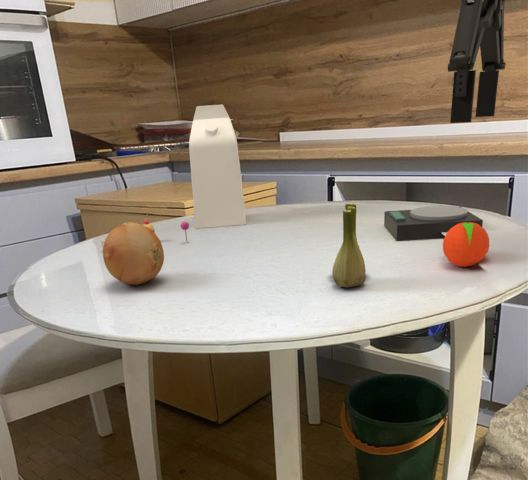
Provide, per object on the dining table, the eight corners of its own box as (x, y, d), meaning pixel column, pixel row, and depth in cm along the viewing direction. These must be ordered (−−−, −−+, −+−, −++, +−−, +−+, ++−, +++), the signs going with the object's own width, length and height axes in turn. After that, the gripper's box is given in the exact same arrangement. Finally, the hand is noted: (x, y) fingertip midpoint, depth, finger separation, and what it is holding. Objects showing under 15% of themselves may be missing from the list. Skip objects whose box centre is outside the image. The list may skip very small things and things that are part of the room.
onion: (152, 293, 83) (142, 229, 79) (97, 292, 86) (84, 230, 82) (178, 274, 92) (169, 216, 87) (126, 273, 94) (116, 216, 90)
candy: (104, 255, 108) (98, 225, 105) (102, 247, 114) (96, 218, 112) (191, 242, 112) (188, 213, 110) (184, 235, 119) (180, 208, 117)
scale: (459, 220, 114) (460, 202, 113) (481, 235, 102) (483, 215, 100) (384, 225, 115) (384, 207, 114) (396, 240, 103) (397, 221, 101)
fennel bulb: (351, 293, 77) (351, 209, 72) (323, 287, 80) (322, 206, 75) (373, 282, 81) (374, 202, 76) (346, 277, 84) (346, 199, 79)
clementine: (491, 274, 81) (496, 227, 78) (443, 274, 82) (446, 228, 79) (483, 259, 88) (488, 216, 85) (439, 259, 89) (442, 217, 86)
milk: (245, 215, 136) (236, 103, 125) (245, 224, 126) (235, 103, 115) (199, 218, 136) (185, 107, 125) (195, 228, 126) (180, 107, 115)
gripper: (483, -34, 83) (470, 115, 92) (431, -63, 65) (421, 126, 74) (536, -43, 79) (517, 113, 88) (497, -78, 61) (477, 124, 70)
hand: (473, 119), depth 81 cm, fingers open, 13 cm apart
